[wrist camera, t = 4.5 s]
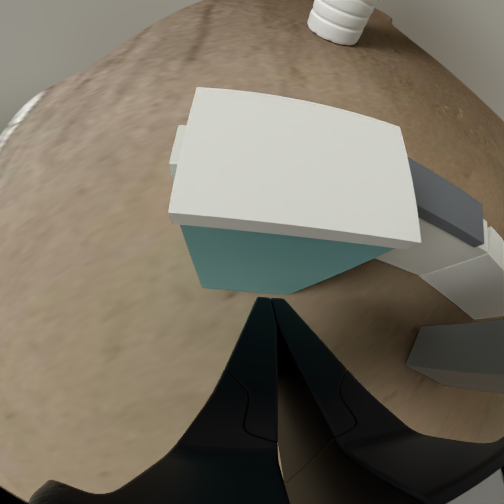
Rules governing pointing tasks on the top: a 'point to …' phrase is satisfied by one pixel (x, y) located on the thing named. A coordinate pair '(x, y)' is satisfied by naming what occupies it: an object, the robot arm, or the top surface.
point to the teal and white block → (288, 191)
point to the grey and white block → (462, 355)
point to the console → (443, 243)
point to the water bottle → (340, 19)
